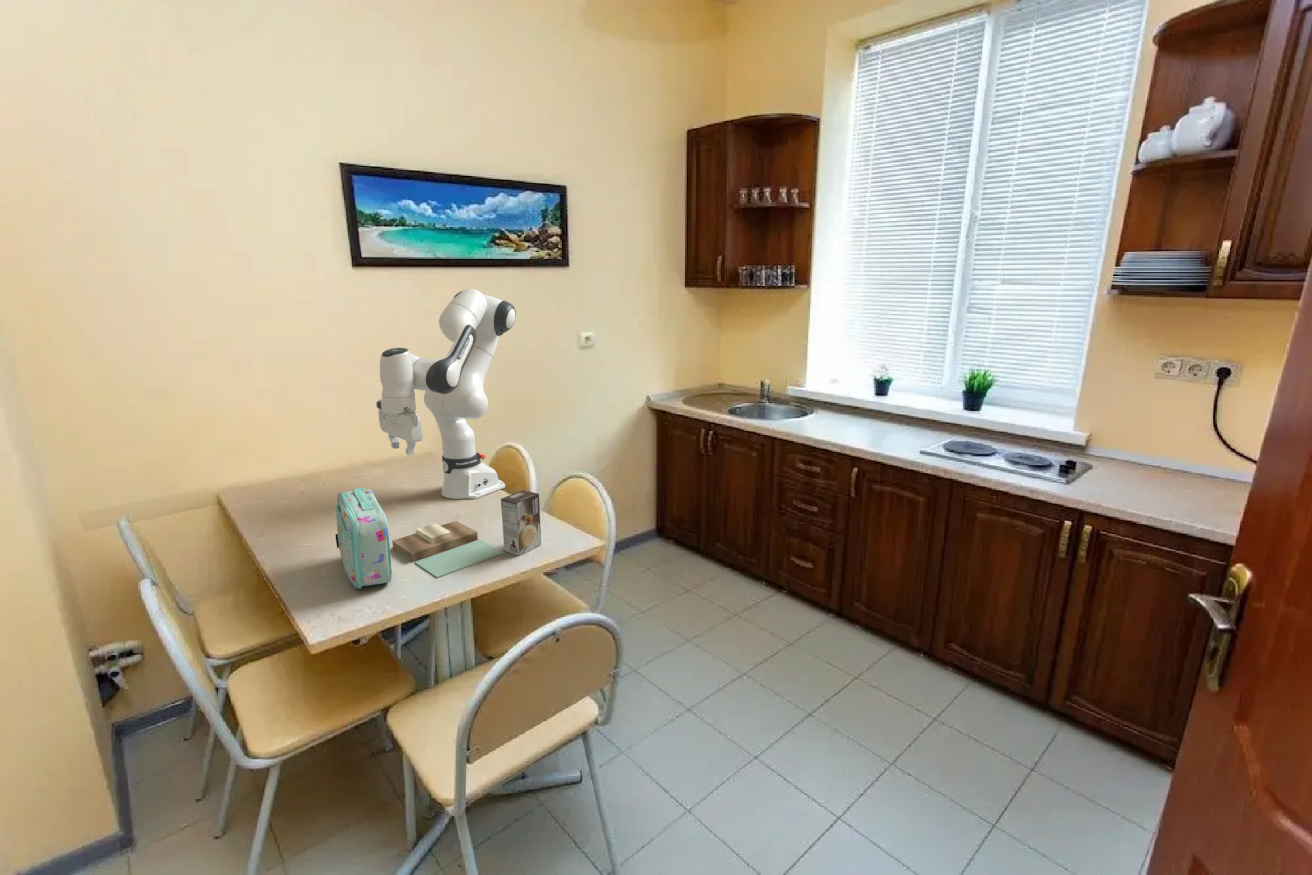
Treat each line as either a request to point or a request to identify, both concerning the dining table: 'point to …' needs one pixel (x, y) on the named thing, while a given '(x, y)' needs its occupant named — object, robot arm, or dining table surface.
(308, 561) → the dining table surface
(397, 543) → the walnut deck
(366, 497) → the lunch box
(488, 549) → the sage mat
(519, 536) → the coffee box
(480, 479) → the robot arm
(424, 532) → the birch tile
